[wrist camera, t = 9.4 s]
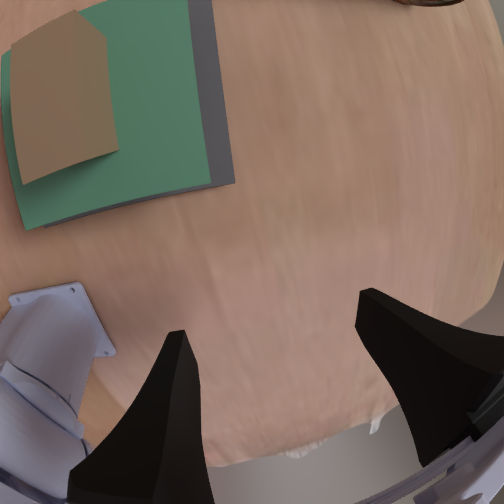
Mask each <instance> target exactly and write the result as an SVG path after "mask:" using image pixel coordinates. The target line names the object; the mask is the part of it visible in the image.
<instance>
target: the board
mask: <svg viewBox="0 0 504 504" xmlns="http://www.w3.org/2000/svg"><path fill="white" fill-rule="evenodd" d="M1 109H2V122H3V132H4V140H5V147H6V153H7V159H8V165H9V170H10V175H11V179H12V184H13V188H14V192H15V196H16V200H17V203H18V207H19V210H20V214H21V217H22V220H23V224H24V227H25V230H26V231H27V230H30V229H33V228H36V227H39V226H42V225H45V224H48V223H51V222H54V221H57V220H61V219H64V218H67V217H70V216H74V215H77V214H80V213H84V212H87V211H91V210H94V209H98V208H102V207H105V206H109V205H113V204H117V203H121V202H125V201H129V200H133V199H137V198H141V197H146V196H150V195H155V194H159V193H164V192H168V191H173V190H178V189H183V188H188V187H193V186H198V185H204V184H209V183H211V179H210V173H209V166H208V160H207V153H206V147H205V140H204V133H203V126H202V119H201V112H200V105H199V98H198V90H197V82H196V74H195V66H194V58H193V49H192V40H191V31H190V22H189V12H188V1H187V0H107V1H104V2H102V3H99V4H96V5H94V6H91V7H89V8H86V9H84V10H81V11H79V12H77V11H76V10H73V11H71V12H69V13H67V14H64V15H62V16H60V17H58V18H56V19H54V20H52V21H51V22H49V23H47V24H45V25H43V26H41V27H40V28H38V29H36V30H34V31H33V32H31V33H29V34H28V35H26V36H24V37H23V38H21V39H20V40H18V41H17V42H15V43H14V44H12V45H11V49H10V50H9V51H7V52H6V53H5V54H3V55H2V59H1Z"/></svg>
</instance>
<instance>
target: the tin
mask: <svg viewBox="0 0 504 504" xmlns="http://www.w3.org/2000/svg"><path fill="white" fill-rule="evenodd" d="M394 1H397V2H401V3H404V4H409V5H415V6H424V7H439V6H449V5H454V4H457V3H460V2H462V1H464V0H394Z"/></svg>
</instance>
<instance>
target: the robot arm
mask: <svg viewBox="0 0 504 504" xmlns="http://www.w3.org/2000/svg"><path fill="white" fill-rule="evenodd" d="M72 288H73V289H74V290H75V291H74V290H72ZM8 299H9V302H10V304H11V306H12V308H11V309H10V310H9V312H8V313H7V314H6V316H5V317H4V319H3V320H2V322H1V323H0V504H215V503H214V499H213V495H212V491H211V487H210V482H209V478H208V473H207V468H206V463H205V457H204V451H203V445H202V435H201V398H200V380H199V372H198V364H197V361H196V359H195V356H194V354H193V351H192V349H191V346H190V343H189V341H188V338H187V335H186V332H185V330H179V331H172V332H169V333H168V335H167V337H166V339H165V342H164V344H163V346H162V348H161V351H160V353H159V355H158V357H157V359H156V361H155V363H154V365H153V367H152V369H151V371H150V373H149V375H148V377H147V379H146V381H145V383H144V384H143V386H142V388H141V390H140V391H139V393H138V395H137V396H136V398H135V400H134V401H133V403H132V404H131V406H130V407H129V409H128V410H127V412H126V413H125V415H124V416H123V417H122V418H121V420H120V421H119V422H118V424H117V425H116V426H115V428H114V429H113V430H112V431H111V432H110V434H109V435H108V436H107V437H106V438H105V439H104V440H103V441H102V442H101V443H100V444H99V445H98V446H97V447H96V449H95V450H94V451H93V450H92V448H91V446H90V445H89V443H88V442H87V441H86V440H85V439H84V438H83V432H84V427H85V426H84V425H83V424H81V423H80V422H79V421H78V420H77V418H78V414H79V409H80V405H81V401H82V397H83V393H84V390H85V386H86V382H87V379H88V375H89V372H90V368H91V365H92V362H93V359H94V357H108V356H114V355H115V354H116V350H115V348H114V346H113V344H112V343H111V341H110V339H109V337H108V335H107V334H106V332H105V330H104V328H103V326H102V324H101V322H100V320H99V318H98V317H97V315H96V313H95V311H94V308H93V306H92V304H91V302H90V300H89V298H88V296H87V294H86V292H85V289H84V287H83V285H82V284H81V283H79V282H73V283H68V284H63V285H58V286H52V287H47V288H42V289H37V290H32V291H27V292H22V293H17V294H12V295H10V296H9V298H8ZM355 328H356V330H357V333H358V335H359V337H360V339H361V341H362V343H363V345H364V346H365V348H366V349H367V351H368V352H369V354H370V355H371V357H372V358H373V360H374V361H375V363H376V364H377V366H378V367H379V369H380V370H381V372H382V373H383V375H384V376H385V378H386V379H387V381H388V382H389V384H390V385H391V387H392V389H393V391H394V393H395V395H396V397H397V399H398V401H399V403H400V405H401V408H402V410H403V412H404V415H405V417H406V419H407V422H408V425H409V428H410V430H411V433H412V436H413V439H414V443H415V446H416V450H417V454H418V458H419V462H420V463H421V465H422V467H423V468H424V467H425V468H424V469H422V470H420V471H419V472H417V473H415V474H414V475H412V476H410V477H409V478H407V479H405V480H403V481H401V482H399V483H398V484H396V485H394V486H392V487H390V488H388V489H386V490H384V491H382V492H380V493H378V494H375V495H373V496H371V497H369V498H367V499H364V500H362V501H360V502H357V503H355V504H391V503H393V502H395V501H397V500H399V499H401V498H402V497H404V496H406V495H408V494H410V493H411V492H413V491H415V490H416V489H418V488H420V487H421V486H423V485H424V484H426V483H428V482H429V481H431V480H432V479H434V478H435V477H436V476H438V475H440V474H441V473H442V472H444V471H445V470H447V469H448V470H447V474H446V476H445V477H444V478H442V479H441V480H439V481H438V482H436V483H434V484H433V485H431V486H430V487H428V488H427V489H425V490H424V491H422V492H420V493H419V494H417V495H416V496H414V498H413V499H414V502H415V504H489V502H490V501H491V499H492V498H493V497H494V496H495V495H496V493H497V492H498V491H499V490H500V488H501V487H502V486H503V485H504V336H495V335H488V334H483V333H478V332H474V331H470V330H466V329H462V328H459V327H456V326H453V325H450V324H448V323H445V322H442V321H440V320H437V319H435V318H433V317H430V316H428V315H426V314H424V313H422V312H420V311H418V310H416V309H414V308H412V307H410V306H408V305H406V304H404V303H402V302H400V301H398V300H396V299H394V298H392V297H390V296H389V295H387V294H385V293H383V292H381V291H379V290H377V289H374V288H368V289H365V290H361V291H360V294H359V302H358V309H357V316H356V323H355ZM449 450H450V451H449ZM448 451H449V452H448ZM445 453H446V454H445ZM444 454H445V455H444ZM442 455H443V456H442ZM441 456H442V457H441ZM439 457H440V458H439ZM438 458H439V459H438ZM436 459H437V460H436ZM435 460H436V461H435ZM433 461H434V462H433ZM432 462H433V463H432ZM430 463H431V464H430ZM429 464H430V465H429ZM427 465H428V466H427ZM426 466H427V467H426Z"/></svg>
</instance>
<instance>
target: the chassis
mask: <svg viewBox="0 0 504 504" xmlns="http://www.w3.org/2000/svg"><path fill="white" fill-rule="evenodd" d="M187 1H188V12H189V22H190V31H191V40H192V49H193V58H194V66H195V74H196V82H197V90H198V98H199V105H200V112H201V119H202V126H203V133H204V140H205V147H206V153H207V160H208V166H209V173H210V179H211V183H209V184H204V185H198V186H193V187H188V188H183V189H178V190H173V191H168V192H164V193H159V194H155V195H150V196H146V197H141V198H137V199H133V200H129V201H125V202H121V203H117V204H113V205H109V206H105V207H102V208H98V209H94V210H91V211H87V212H84V213H80V214H77V215H74V216H70V217H67V218H64V219H61V220H57V221H54V222H51V223H48V224H45V225H44V228H47V227H50V226H53V225H57V224H60V223H63V222H66V221H70V220H73V219H77V218H80V217H83V216H87V215H91V214H94V213H98V212H102V211H105V210H109V209H113V208H117V207H121V206H125V205H129V204H133V203H137V202H142V201H146V200H150V199H155V198H159V197H164V196H169V195H174V194H178V193H183V192H188V191H194V190H199V189H204V188H210V187H215V186H221V185H227V184H233V183H235V177H234V169H233V162H232V155H231V147H230V140H229V133H228V125H227V118H226V110H225V103H224V95H223V87H222V80H221V72H220V64H219V56H218V49H217V41H216V33H215V25H214V17H213V8H212V0H187Z"/></svg>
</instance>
